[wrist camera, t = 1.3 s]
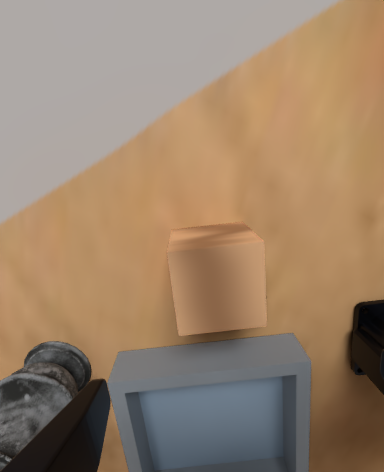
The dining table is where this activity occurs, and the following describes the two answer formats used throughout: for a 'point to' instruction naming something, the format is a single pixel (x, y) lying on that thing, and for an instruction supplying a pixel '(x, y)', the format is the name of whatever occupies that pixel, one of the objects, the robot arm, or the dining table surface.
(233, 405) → the low wall corral
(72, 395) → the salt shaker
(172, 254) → the light brown block
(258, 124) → the dining table surface
